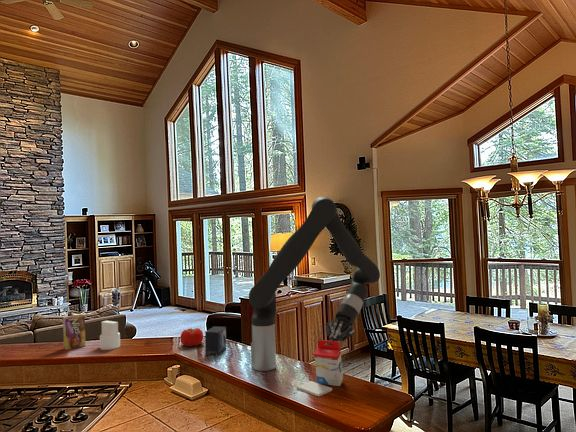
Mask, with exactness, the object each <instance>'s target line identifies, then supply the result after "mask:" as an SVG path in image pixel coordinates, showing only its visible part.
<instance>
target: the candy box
mask: <svg viewBox="0 0 576 432" xmlns="http://www.w3.org/2000/svg"><path fill="white" fill-rule="evenodd" d="M85 321H86V320H85V314H83V313H80V314H75V315H74V314H73V315H69V316H68V315H67V316H63V317H62V322H63V323H62V326H63V327H62V329H63V331H62V334H63V349H64V350H66V351H67V350H73V349H79V348H82V347H85V346H86V324H85V323H86V322H85Z"/></svg>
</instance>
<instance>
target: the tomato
mask: <svg viewBox="0 0 576 432" xmlns="http://www.w3.org/2000/svg"><path fill="white" fill-rule="evenodd" d="M179 338H180V343H181V344H182V345H184V346H185V347H188V348H189V347H197V346H198V345H201V344H202V342H203V339H204V333H203V330H202V329H200V328H199V327H198V328H197V327H196V328H188V329H184V330H183V331H182V332H181V333H180V337H179Z"/></svg>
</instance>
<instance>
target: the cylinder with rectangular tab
mask: <svg viewBox="0 0 576 432" xmlns="http://www.w3.org/2000/svg"><path fill="white" fill-rule="evenodd" d="M119 347H121V333H120V332H119V322H118V321H112V320H103V321H101V334H100V335H99V349H100V350H103V351H105V350H108V351H109V350H116V349H118V348H119Z"/></svg>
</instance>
